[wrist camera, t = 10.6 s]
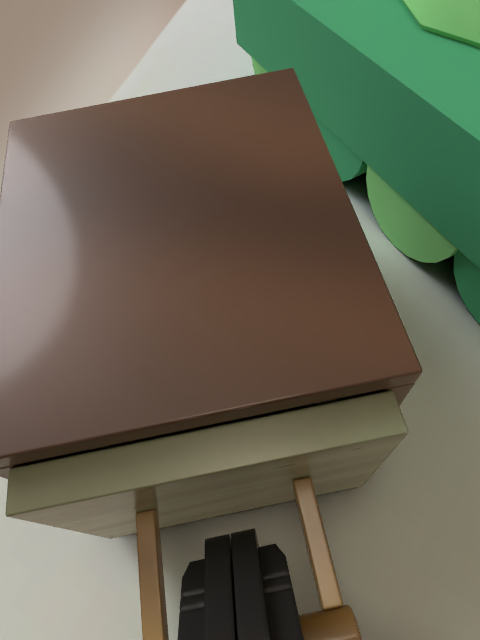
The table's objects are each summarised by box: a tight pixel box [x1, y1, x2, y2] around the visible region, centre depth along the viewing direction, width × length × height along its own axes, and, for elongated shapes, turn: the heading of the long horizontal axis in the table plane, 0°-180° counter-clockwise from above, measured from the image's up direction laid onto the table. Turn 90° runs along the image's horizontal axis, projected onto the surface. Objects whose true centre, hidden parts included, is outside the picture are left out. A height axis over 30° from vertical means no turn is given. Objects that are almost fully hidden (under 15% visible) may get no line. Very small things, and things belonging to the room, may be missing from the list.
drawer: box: [6, 391, 408, 640], centre depth 16 cm, size 17×10×8 cm, turn 10°
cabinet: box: [0, 68, 422, 479], centre depth 19 cm, size 14×12×10 cm
